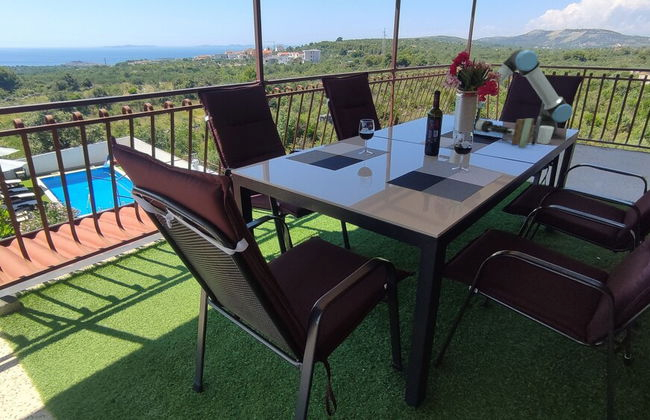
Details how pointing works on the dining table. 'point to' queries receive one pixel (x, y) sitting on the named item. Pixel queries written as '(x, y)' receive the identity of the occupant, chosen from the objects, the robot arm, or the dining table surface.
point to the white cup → (545, 134)
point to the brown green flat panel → (519, 131)
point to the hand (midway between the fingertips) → (517, 133)
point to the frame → (526, 132)
